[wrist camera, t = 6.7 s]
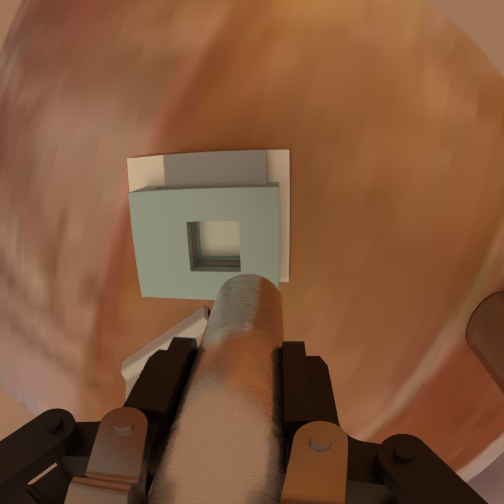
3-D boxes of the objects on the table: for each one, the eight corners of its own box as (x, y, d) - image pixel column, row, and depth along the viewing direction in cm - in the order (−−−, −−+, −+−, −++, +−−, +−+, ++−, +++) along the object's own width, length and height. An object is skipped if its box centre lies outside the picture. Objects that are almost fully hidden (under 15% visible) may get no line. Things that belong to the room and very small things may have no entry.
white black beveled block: (206, 303, 35) (210, 378, 26) (234, 324, 37) (244, 396, 29) (120, 362, 39) (111, 425, 31) (146, 377, 41) (142, 438, 33)
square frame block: (289, 149, 29) (290, 149, 24) (288, 278, 33) (289, 301, 28) (131, 158, 30) (106, 161, 25) (143, 275, 34) (124, 295, 29)
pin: (283, 274, 14) (293, 539, 3) (281, 332, 15) (281, 569, 4) (214, 273, 14) (115, 515, 4) (218, 330, 15) (156, 555, 4)
